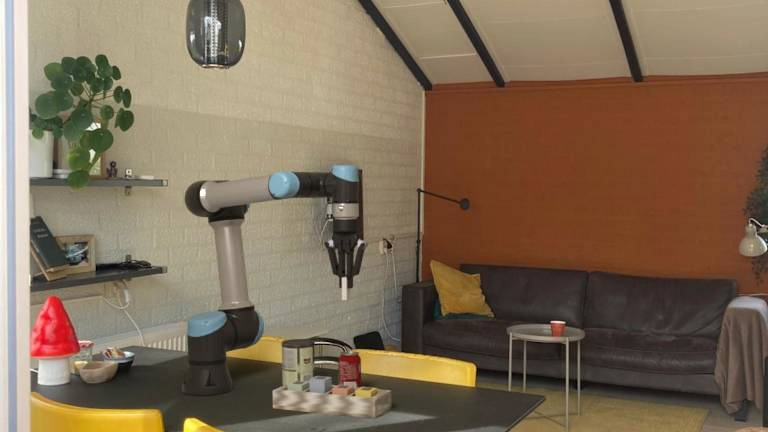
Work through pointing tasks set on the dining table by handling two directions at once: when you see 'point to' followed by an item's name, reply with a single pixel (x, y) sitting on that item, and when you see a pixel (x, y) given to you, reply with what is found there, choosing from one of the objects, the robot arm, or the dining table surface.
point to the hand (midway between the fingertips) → (346, 299)
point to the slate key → (320, 384)
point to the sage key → (298, 386)
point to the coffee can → (297, 360)
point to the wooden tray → (332, 402)
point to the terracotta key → (343, 390)
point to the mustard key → (366, 392)
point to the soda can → (350, 369)
